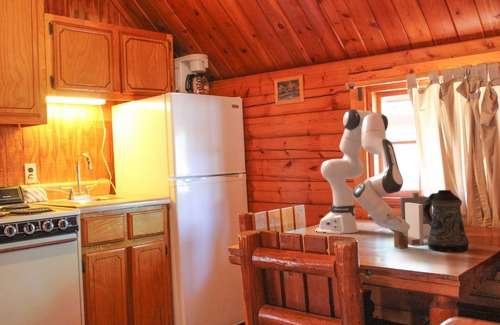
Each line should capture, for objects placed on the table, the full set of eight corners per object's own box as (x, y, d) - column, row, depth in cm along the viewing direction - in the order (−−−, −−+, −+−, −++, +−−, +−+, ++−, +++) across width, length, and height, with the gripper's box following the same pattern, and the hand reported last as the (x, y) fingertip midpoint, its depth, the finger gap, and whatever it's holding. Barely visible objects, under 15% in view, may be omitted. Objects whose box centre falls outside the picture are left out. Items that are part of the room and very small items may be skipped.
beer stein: (465, 254, 202) (464, 192, 202) (416, 250, 212) (415, 191, 212) (471, 246, 216) (470, 189, 216) (425, 243, 226) (424, 188, 226)
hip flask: (401, 231, 263) (400, 193, 262) (400, 229, 267) (399, 192, 266) (433, 230, 261) (432, 192, 260) (431, 229, 265) (430, 191, 264)
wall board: (398, 241, 233) (397, 203, 233) (409, 240, 235) (408, 202, 235) (412, 245, 223) (411, 205, 223) (423, 244, 225) (422, 204, 225)
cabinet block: (399, 248, 217) (398, 223, 217) (393, 247, 221) (392, 222, 221) (408, 247, 218) (407, 222, 218) (402, 246, 222) (401, 221, 222)
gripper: (400, 210, 207) (421, 231, 211) (373, 205, 227) (393, 225, 230) (391, 221, 206) (412, 243, 209) (365, 216, 226) (384, 235, 229)
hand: (401, 233), depth 220 cm, fingers open, 5 cm apart
